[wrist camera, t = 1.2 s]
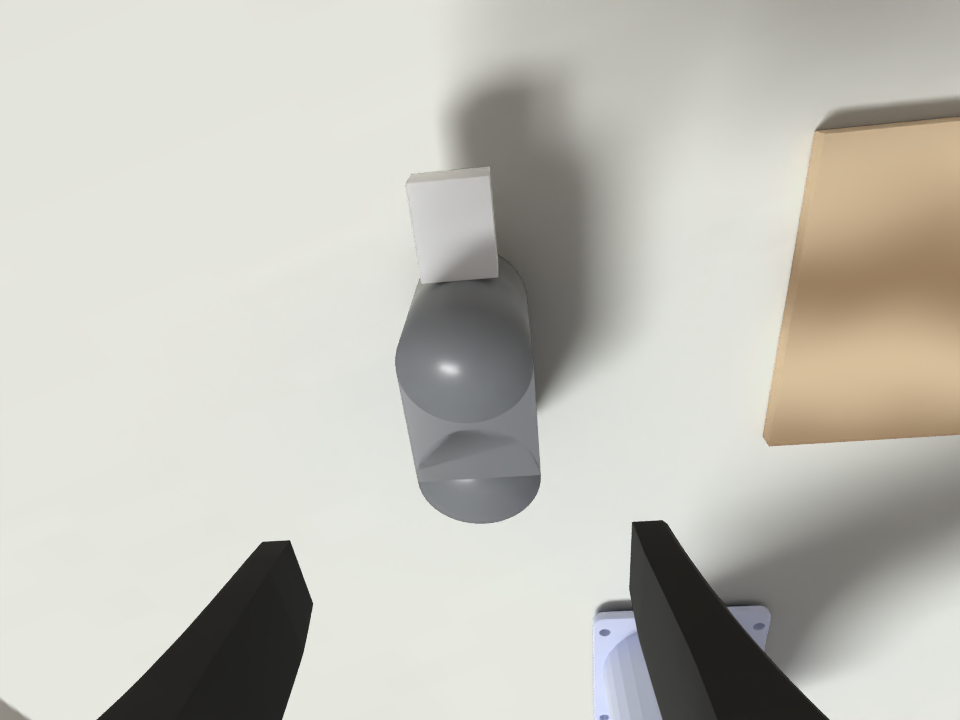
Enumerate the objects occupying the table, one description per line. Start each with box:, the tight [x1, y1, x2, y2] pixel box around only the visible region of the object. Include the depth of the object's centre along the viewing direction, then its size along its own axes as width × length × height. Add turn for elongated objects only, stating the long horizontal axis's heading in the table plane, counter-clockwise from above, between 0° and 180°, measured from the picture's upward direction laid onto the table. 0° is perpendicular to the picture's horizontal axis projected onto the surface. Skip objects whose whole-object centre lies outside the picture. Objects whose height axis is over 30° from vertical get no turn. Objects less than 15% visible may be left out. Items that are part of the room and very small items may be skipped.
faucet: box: [395, 166, 541, 524], centre depth 18 cm, size 11×4×4 cm, turn 6°
